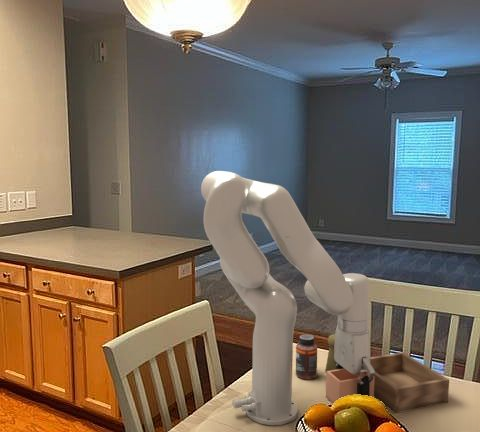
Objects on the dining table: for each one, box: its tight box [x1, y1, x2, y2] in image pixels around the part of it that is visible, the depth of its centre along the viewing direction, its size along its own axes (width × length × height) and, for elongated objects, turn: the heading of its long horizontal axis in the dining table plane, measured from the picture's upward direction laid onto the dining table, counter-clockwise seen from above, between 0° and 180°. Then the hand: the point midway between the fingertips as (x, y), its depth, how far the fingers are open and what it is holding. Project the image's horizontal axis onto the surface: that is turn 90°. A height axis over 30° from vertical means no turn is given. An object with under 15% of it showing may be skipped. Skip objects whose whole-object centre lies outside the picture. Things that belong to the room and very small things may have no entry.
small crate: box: [325, 368, 375, 404], centre depth 123 cm, size 10×6×7 cm, turn 109°
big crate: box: [370, 352, 450, 414], centre depth 128 cm, size 16×18×6 cm
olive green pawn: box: [324, 333, 336, 373], centre depth 138 cm, size 6×6×11 cm
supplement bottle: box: [295, 334, 318, 380], centre depth 136 cm, size 6×6×11 cm
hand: (352, 388), depth 123 cm, fingers open, 9 cm apart
